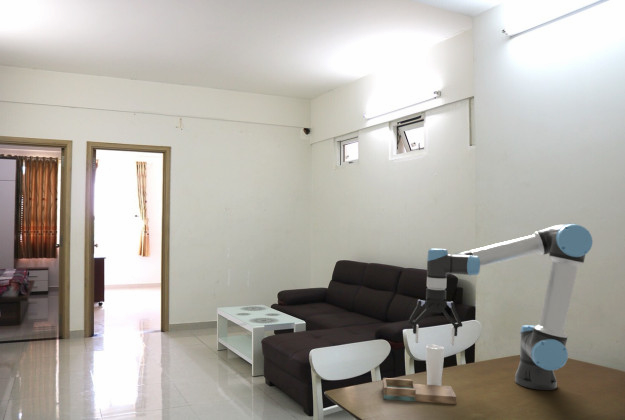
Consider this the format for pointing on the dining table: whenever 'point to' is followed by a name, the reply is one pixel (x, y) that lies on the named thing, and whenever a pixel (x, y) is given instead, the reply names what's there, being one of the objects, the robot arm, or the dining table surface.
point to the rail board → (417, 391)
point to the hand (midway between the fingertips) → (434, 343)
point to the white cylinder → (434, 364)
